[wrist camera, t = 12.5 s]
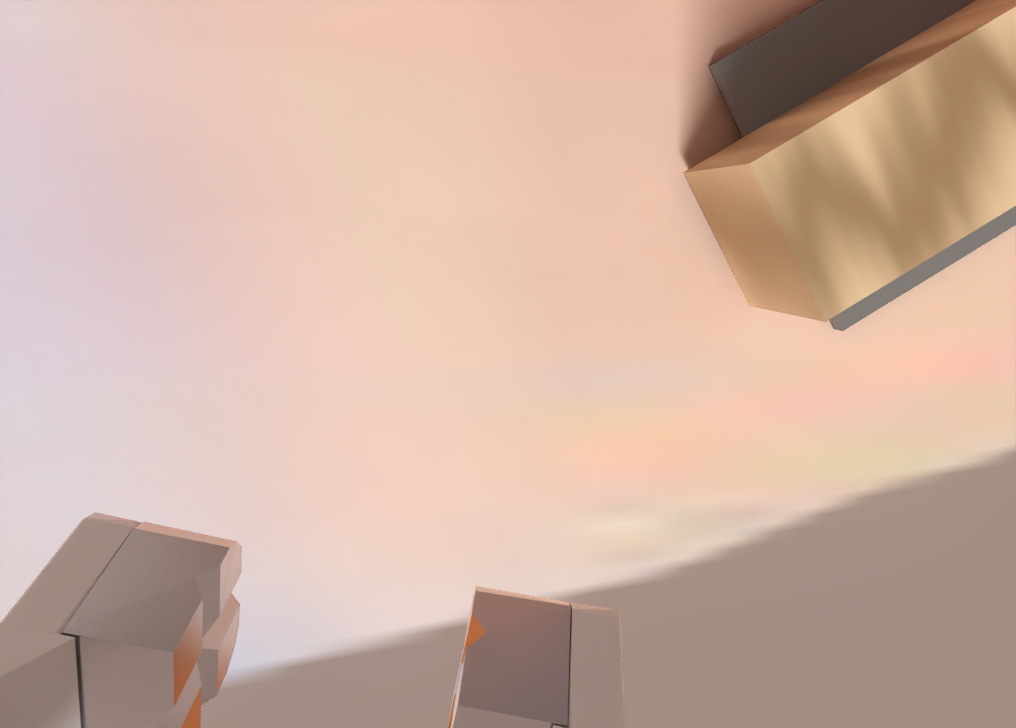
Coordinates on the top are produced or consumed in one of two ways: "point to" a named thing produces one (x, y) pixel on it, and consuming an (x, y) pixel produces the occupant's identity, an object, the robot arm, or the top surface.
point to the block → (871, 169)
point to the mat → (818, 65)
